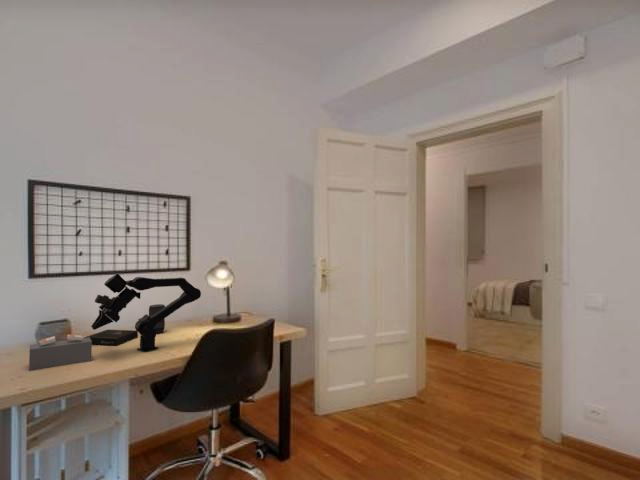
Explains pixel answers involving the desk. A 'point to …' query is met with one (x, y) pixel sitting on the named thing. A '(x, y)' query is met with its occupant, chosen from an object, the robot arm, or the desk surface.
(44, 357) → the switch block
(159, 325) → the dark grey tall block
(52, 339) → the block
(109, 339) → the portable cd player
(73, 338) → the rocker
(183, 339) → the desk surface
